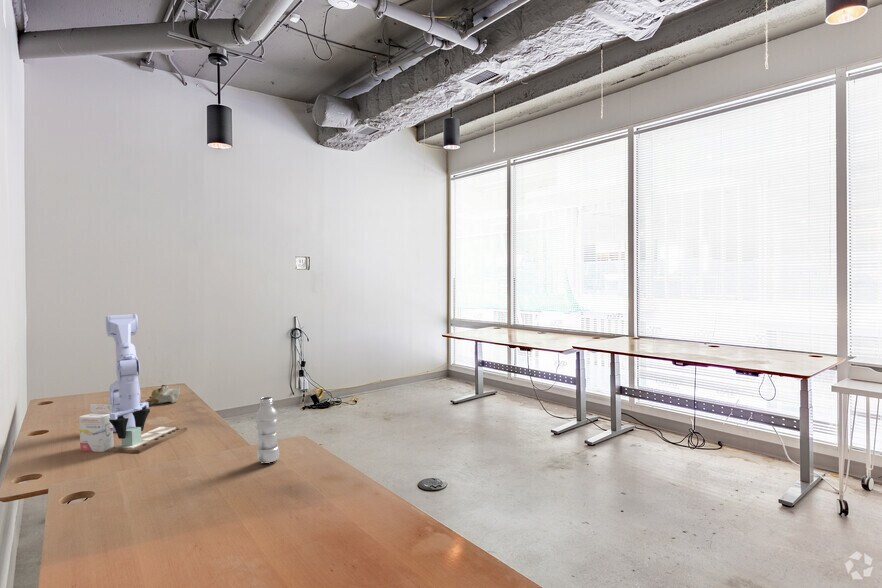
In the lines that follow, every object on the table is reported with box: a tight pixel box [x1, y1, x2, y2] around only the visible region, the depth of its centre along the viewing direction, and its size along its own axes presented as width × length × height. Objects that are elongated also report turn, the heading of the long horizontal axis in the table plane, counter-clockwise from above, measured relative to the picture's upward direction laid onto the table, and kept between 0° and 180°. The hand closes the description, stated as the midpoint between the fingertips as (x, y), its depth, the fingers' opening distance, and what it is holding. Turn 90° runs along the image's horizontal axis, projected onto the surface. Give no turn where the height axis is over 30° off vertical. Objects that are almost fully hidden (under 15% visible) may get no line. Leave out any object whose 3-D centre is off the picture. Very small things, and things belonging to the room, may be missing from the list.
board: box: [109, 425, 188, 454], centre depth 173 cm, size 11×23×1 cm, turn 170°
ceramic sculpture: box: [140, 384, 181, 405], centre depth 222 cm, size 11×9×15 cm
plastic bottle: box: [255, 396, 280, 463], centre depth 151 cm, size 6×7×20 cm
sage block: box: [121, 427, 142, 446], centre depth 166 cm, size 4×4×5 cm
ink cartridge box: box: [78, 403, 115, 453], centre depth 164 cm, size 9×5×15 cm, turn 84°
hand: (131, 434), depth 166 cm, fingers open, 7 cm apart
